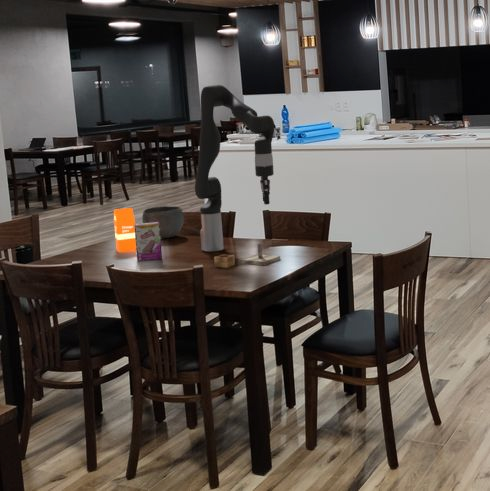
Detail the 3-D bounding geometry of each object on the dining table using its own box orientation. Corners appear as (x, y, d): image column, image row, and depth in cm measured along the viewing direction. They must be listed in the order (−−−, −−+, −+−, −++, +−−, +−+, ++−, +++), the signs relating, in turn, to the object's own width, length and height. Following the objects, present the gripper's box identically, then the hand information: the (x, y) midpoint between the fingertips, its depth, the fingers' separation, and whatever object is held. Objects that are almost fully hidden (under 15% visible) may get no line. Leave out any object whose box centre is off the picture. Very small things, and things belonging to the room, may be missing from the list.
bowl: (156, 233, 449) (153, 205, 446) (192, 233, 441) (190, 205, 438) (136, 241, 430) (133, 211, 427) (174, 241, 422) (171, 211, 419)
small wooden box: (214, 266, 359) (214, 257, 358) (223, 263, 364) (222, 254, 363) (226, 267, 355) (225, 258, 355) (234, 264, 360) (234, 255, 359)
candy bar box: (137, 262, 379) (134, 225, 376) (137, 260, 384) (133, 223, 381) (162, 259, 381) (159, 223, 378) (162, 257, 386) (158, 221, 383)
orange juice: (116, 249, 412) (112, 208, 408) (134, 247, 414) (130, 206, 410) (119, 252, 404) (115, 210, 401) (137, 250, 407) (133, 208, 403)
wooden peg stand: (240, 263, 362) (239, 244, 360) (257, 257, 371) (255, 239, 370) (264, 265, 355) (263, 246, 353) (280, 259, 364) (279, 241, 363)
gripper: (254, 163, 365) (256, 200, 368) (255, 166, 351) (258, 205, 354) (271, 162, 365) (273, 199, 369) (274, 165, 351) (276, 204, 355)
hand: (266, 202), depth 362 cm, fingers open, 8 cm apart
